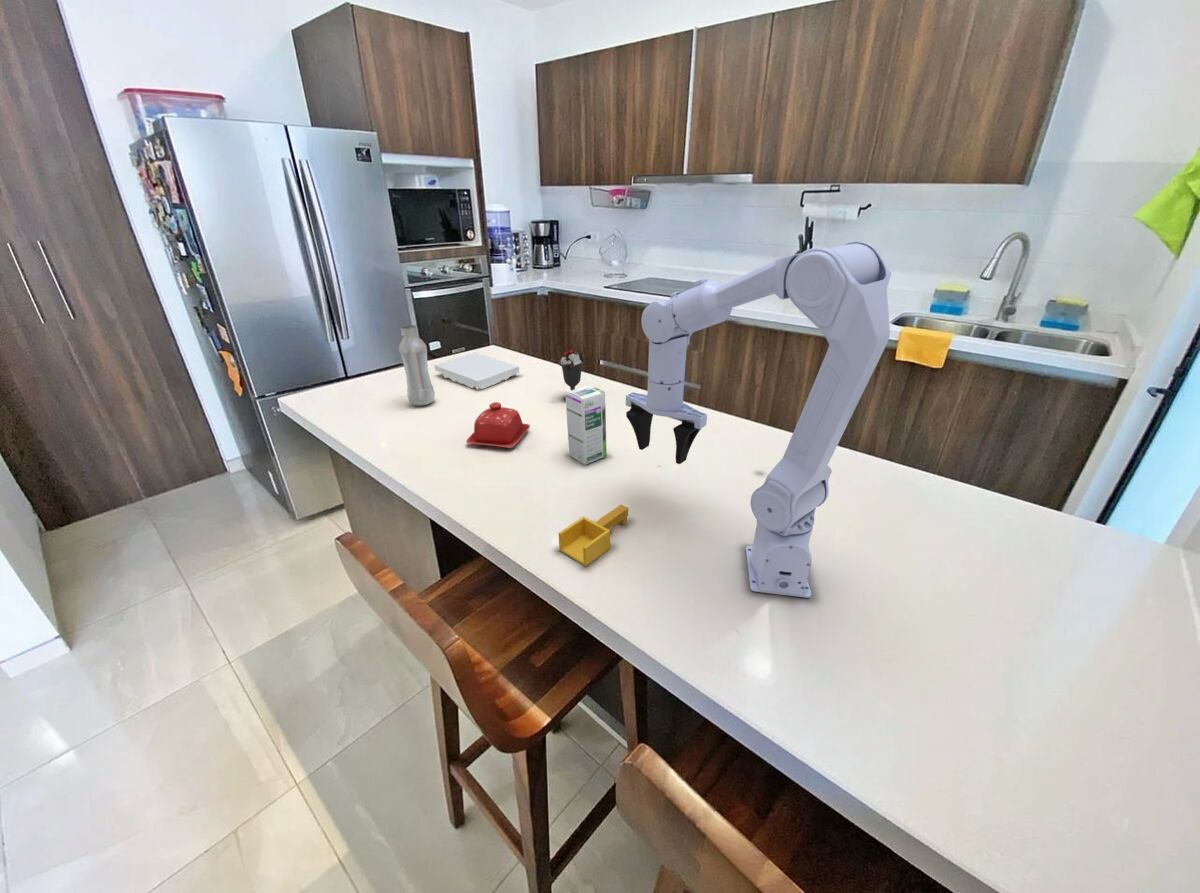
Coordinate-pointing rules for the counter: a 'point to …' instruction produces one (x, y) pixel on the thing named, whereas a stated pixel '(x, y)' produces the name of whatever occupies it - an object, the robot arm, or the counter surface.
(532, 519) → the counter surface
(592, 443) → the syrup box
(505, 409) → the butter dish
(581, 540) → the scoop
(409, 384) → the plastic bottle
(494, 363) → the food packaging
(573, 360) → the sundae
